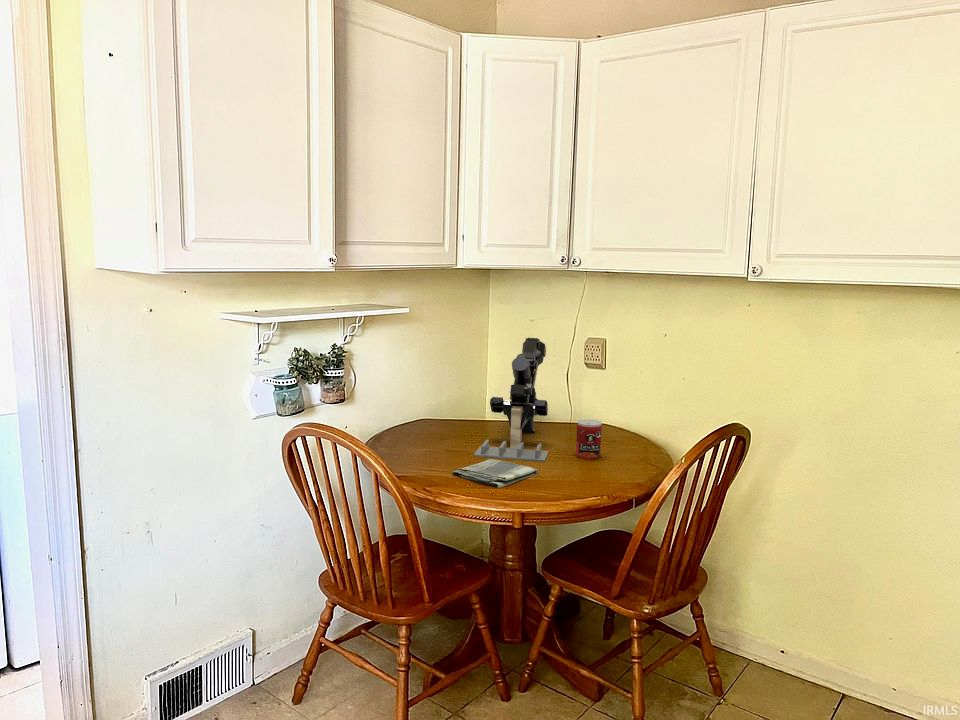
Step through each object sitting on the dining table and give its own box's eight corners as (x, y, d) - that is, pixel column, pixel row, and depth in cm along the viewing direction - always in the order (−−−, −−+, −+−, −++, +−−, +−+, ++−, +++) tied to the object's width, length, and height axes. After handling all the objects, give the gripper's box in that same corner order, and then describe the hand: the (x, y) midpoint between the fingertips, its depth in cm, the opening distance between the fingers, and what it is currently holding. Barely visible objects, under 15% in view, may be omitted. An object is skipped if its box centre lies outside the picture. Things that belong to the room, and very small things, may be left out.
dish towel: (490, 463, 220) (490, 452, 219) (538, 476, 208) (539, 465, 208) (449, 477, 205) (449, 466, 205) (499, 491, 194) (499, 480, 194)
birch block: (512, 444, 238) (513, 406, 236) (521, 445, 238) (522, 406, 236) (510, 448, 234) (511, 409, 232) (519, 449, 233) (520, 409, 231)
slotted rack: (480, 447, 234) (480, 438, 234) (548, 453, 230) (548, 443, 229) (473, 456, 224) (474, 446, 224) (544, 462, 220) (545, 452, 220)
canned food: (576, 459, 224) (578, 424, 222) (574, 452, 232) (575, 418, 230) (601, 460, 224) (603, 425, 222) (598, 452, 232) (600, 419, 230)
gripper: (491, 372, 238) (484, 412, 229) (548, 376, 234) (543, 417, 225) (495, 391, 247) (488, 431, 238) (550, 395, 243) (545, 435, 234)
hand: (515, 428), depth 233 cm, fingers closed on birch block, 3 cm apart
